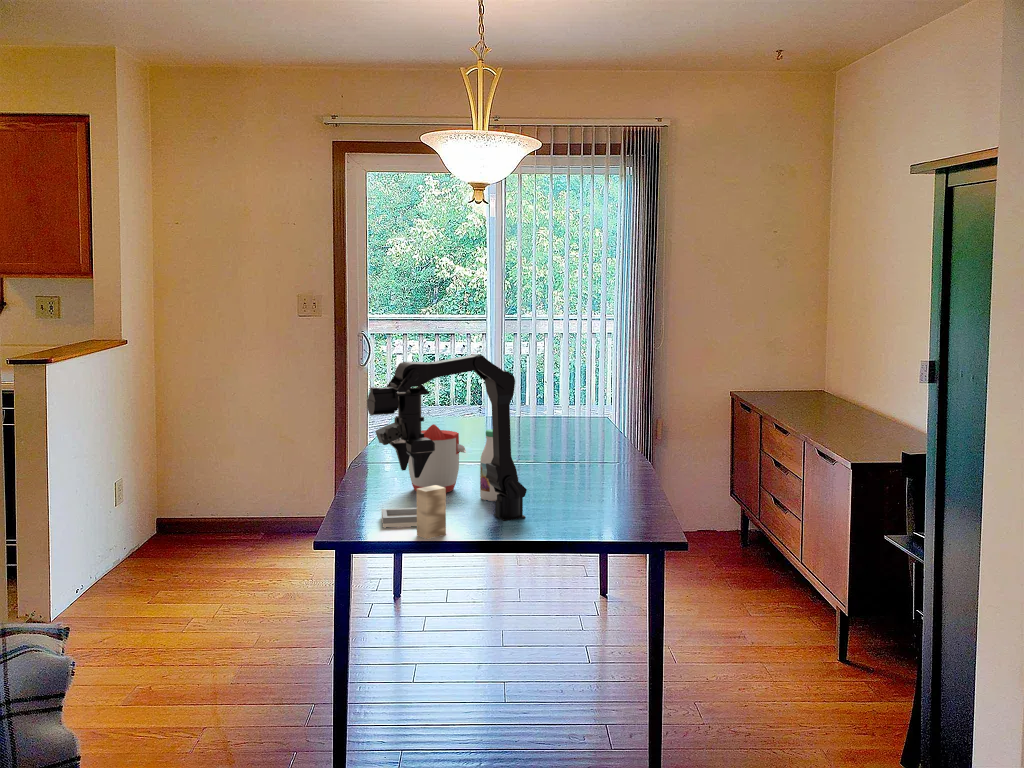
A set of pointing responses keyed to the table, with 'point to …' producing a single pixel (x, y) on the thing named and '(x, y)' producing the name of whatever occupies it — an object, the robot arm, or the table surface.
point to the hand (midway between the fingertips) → (410, 473)
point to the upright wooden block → (431, 511)
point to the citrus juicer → (439, 460)
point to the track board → (399, 517)
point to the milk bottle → (486, 457)
